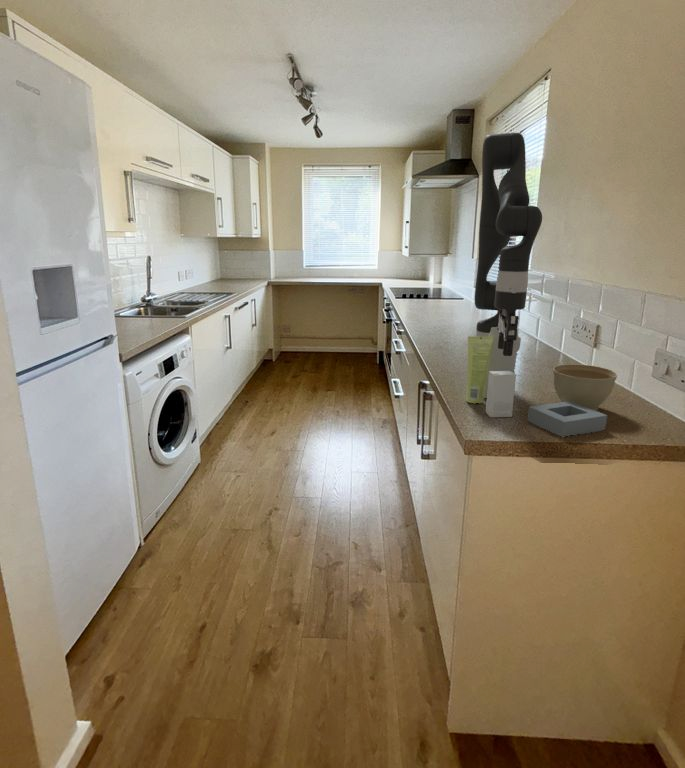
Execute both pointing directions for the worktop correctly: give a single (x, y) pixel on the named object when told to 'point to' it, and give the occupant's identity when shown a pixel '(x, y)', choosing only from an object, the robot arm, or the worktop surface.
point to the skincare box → (500, 393)
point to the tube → (477, 367)
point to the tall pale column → (500, 357)
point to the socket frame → (567, 418)
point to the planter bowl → (583, 384)
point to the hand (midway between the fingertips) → (504, 352)
